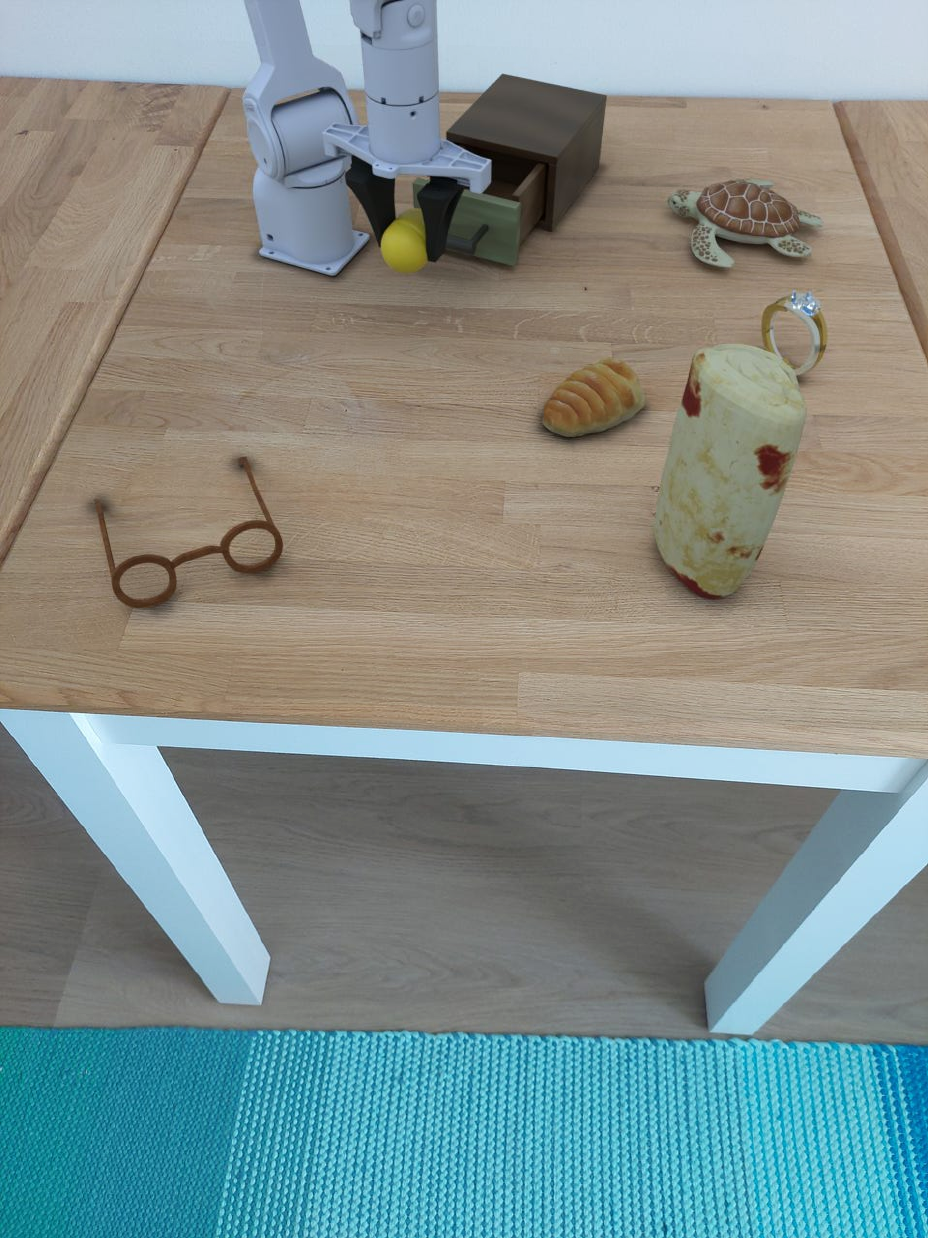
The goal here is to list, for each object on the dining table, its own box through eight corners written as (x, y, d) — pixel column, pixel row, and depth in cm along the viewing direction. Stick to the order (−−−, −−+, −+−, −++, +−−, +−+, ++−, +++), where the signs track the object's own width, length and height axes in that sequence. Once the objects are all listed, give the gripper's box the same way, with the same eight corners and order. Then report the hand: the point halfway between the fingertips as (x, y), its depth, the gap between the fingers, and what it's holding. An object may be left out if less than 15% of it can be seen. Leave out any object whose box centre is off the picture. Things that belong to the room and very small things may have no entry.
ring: (817, 386, 87) (845, 313, 81) (789, 396, 86) (815, 323, 80) (772, 344, 91) (795, 270, 84) (745, 353, 90) (766, 280, 84)
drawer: (495, 290, 95) (496, 232, 89) (394, 263, 98) (390, 205, 92) (562, 201, 104) (567, 144, 99) (469, 179, 107) (468, 122, 102)
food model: (625, 548, 76) (665, 344, 59) (687, 514, 78) (743, 308, 62) (706, 629, 71) (775, 432, 55) (771, 591, 73) (855, 389, 57)
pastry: (573, 456, 82) (577, 423, 79) (523, 416, 85) (525, 383, 82) (649, 410, 85) (655, 377, 82) (598, 374, 88) (602, 340, 85)
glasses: (126, 618, 72) (105, 578, 68) (94, 504, 79) (74, 461, 75) (289, 565, 75) (278, 523, 71) (245, 460, 82) (233, 416, 78)
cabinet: (551, 231, 103) (557, 156, 96) (447, 205, 106) (445, 131, 99) (599, 167, 110) (607, 94, 104) (500, 145, 114) (502, 72, 107)
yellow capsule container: (417, 288, 82) (415, 242, 78) (373, 276, 83) (369, 230, 79) (449, 250, 85) (449, 205, 81) (407, 239, 86) (404, 193, 83)
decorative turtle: (688, 175, 109) (696, 132, 105) (831, 207, 105) (845, 163, 101) (639, 257, 99) (646, 213, 95) (794, 296, 95) (808, 251, 91)
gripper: (294, 92, 72) (317, 252, 83) (464, 132, 68) (465, 294, 79) (340, 54, 75) (357, 212, 86) (504, 90, 71) (499, 250, 82)
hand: (411, 248), depth 83 cm, fingers closed on yellow capsule container, 4 cm apart
